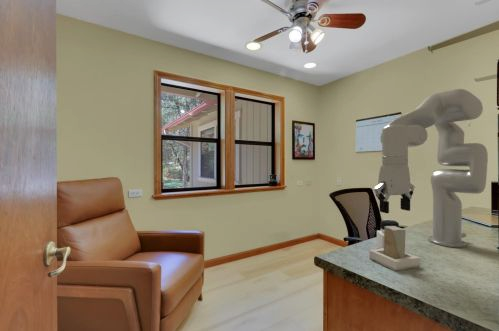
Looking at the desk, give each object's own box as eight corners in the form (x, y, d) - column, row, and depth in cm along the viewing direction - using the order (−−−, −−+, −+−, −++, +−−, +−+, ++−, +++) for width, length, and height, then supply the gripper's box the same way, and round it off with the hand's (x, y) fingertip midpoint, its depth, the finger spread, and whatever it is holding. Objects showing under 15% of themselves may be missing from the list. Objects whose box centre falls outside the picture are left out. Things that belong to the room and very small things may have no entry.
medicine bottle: (403, 255, 89) (403, 223, 88) (382, 254, 90) (382, 222, 90) (395, 249, 96) (396, 219, 95) (376, 247, 97) (376, 218, 97)
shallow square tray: (391, 255, 89) (391, 247, 89) (419, 266, 79) (419, 257, 79) (369, 258, 86) (369, 250, 86) (395, 271, 76) (396, 261, 76)
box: (383, 257, 85) (383, 225, 85) (394, 256, 86) (394, 225, 85) (394, 263, 80) (394, 230, 80) (405, 262, 80) (406, 229, 80)
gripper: (403, 161, 88) (403, 207, 89) (366, 162, 83) (366, 211, 83) (423, 161, 81) (423, 211, 82) (385, 162, 76) (385, 216, 76)
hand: (394, 211), depth 83 cm, fingers open, 9 cm apart
